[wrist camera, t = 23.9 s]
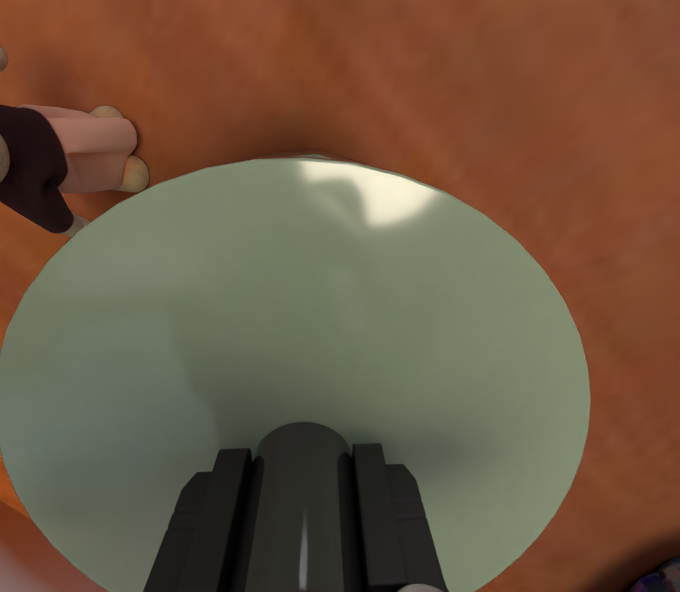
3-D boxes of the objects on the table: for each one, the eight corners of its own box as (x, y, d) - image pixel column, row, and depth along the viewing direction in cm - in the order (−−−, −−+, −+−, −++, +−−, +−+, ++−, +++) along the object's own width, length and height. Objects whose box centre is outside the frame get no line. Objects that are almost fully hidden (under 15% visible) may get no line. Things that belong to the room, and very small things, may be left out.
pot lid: (340, 660, 16) (351, 935, 11) (-71, 474, 12) (-396, 761, 7) (674, 392, 12) (964, 606, 7) (234, -14, 8) (65, -308, 3)
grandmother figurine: (180, 191, 24) (43, 250, 12) (123, 222, 24) (-65, 308, 12) (93, 49, 21) (-198, -56, 9) (30, 87, 21) (-324, 32, 10)
